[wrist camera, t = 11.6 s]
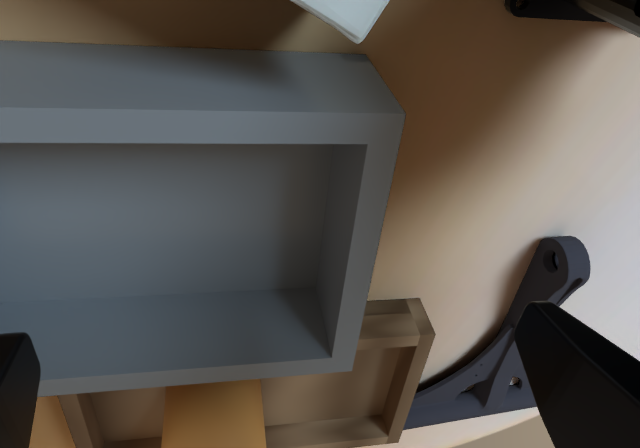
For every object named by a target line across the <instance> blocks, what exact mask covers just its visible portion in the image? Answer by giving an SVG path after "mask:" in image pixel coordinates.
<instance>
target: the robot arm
mask: <svg viewBox="0 0 640 448" xmlns="http://www.w3.org/2000/svg"><path fill="white" fill-rule="evenodd" d="M516 2H517V0H505V8H506V10H507V11H508V12H509V13H511V14H512V15H514V16H517V17H527V18H545V19H563V20H580V21H598V22H609V23H611V24H613V25H615V26H617V27H619V28H621V29H623V30H625V31H627V32H629V33H631V34H633V35H635V36H637V37H639V38H640V0H524V2H523V3H522V4H521V5H520V6H516ZM514 339H515V343H516V346H517V349H518V352H519V355H520V358H521V361H522V364H523V367H524V370H525V373H526V376H527V379H528V382H529V385H530V387H531V390H532V393H533V396H534V399H535V402H536V405H537V407H538V410H539V413H540V415H541V417H542V420H543V422H544V424H545V427H546V428H547V431H548V433H549V435H550V437H551V440H552V442H553V444H554V446H555V448H640V361H639V360H637V359H636V358H634V357H633V356H631V355H630V354H628V353H627V352H625V351H624V350H622V349H621V348H619V347H618V346H616V345H615V344H613V343H612V342H610V341H609V340H607V339H606V338H605V337H603V336H602V335H600V334H599V333H597V332H596V331H594V330H593V329H591V328H590V327H588V326H587V325H585V324H584V323H582V322H581V321H579V320H578V319H576V318H575V317H573V316H572V315H570V314H569V313H567V312H566V311H565V310H563V309H562V308H560V307H559V306H557V305H556V304H554V303H552V302H550V301H532V302H529V303H528V304H527V305H526V306H525V308H524V311H523V313H522V315H521V317H520V319H519V321H518V323H517V325H516V327H515V331H514ZM40 376H41V367H40V362H39V359H38V357H37V354H36V351H35V348H34V346H33V343H32V340H31V338H30V336H29V335H28V334H27V333H25V332H16V333H2V334H0V448H29V443H30V437H31V431H32V425H33V419H34V413H35V407H36V401H37V395H38V389H39V383H40Z"/></svg>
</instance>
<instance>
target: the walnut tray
mask: <svg viewBox="0 0 640 448" xmlns="http://www.w3.org/2000/svg"><path fill="white" fill-rule="evenodd" d="M434 337H435V332H434V329H433V327H432V325H431V323H430V320H429V318H428V316H427V314H426V311H425V309H424V307H423V305H422V302H421V300H420V298H416V299H398V300H380V301H367V302H366V306H365V311H364V316H363V321H362V325H361V330H360V335H359V340H358V344H357V349H356V354H355V359H354V363H353V368H352V371H347V372H335V373H323V374H310V375H298V376H286V377H274V378H262V379H260V382H261V393H262V404H263V415H264V426H265V438H266V448H353V447H362V446H371V445H380V444H389V443H398V442H399V439H400V436H401V433H402V430H403V428H404V425H405V422H406V419H407V416H408V413H409V410H410V407H411V404H412V401H413V398H414V396H415V393H416V390H417V387H418V384H419V381H420V378H421V375H422V372H423V369H424V366H425V363H426V361H427V358H428V355H429V352H430V349H431V346H432V343H433V340H434ZM165 394H166V386H165V387H153V388H140V389H128V390H116V391H104V392H92V393H80V394H68V395H57V396H58V398H59V401H60V404H61V407H62V410H63V412H64V415H65V418H66V421H67V424H68V426H69V429H70V432H71V435H72V438H73V440H74V443H75V446H76V448H161V444H162V432H163V419H164V407H165Z"/></svg>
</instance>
